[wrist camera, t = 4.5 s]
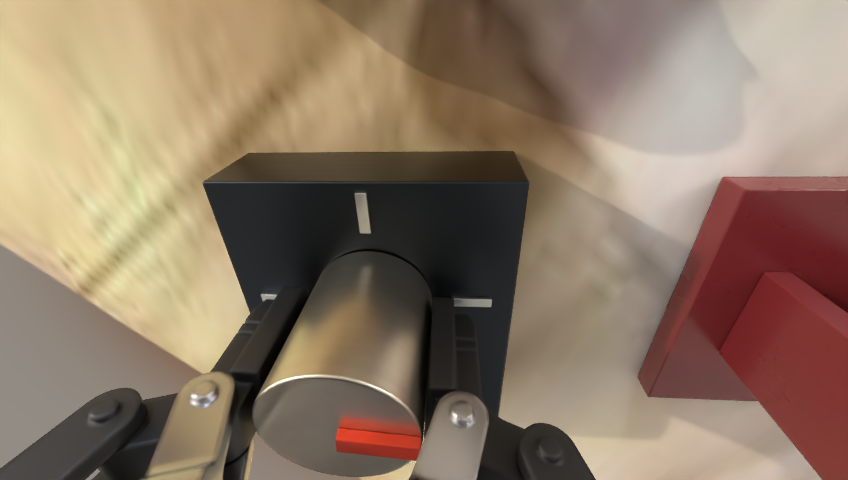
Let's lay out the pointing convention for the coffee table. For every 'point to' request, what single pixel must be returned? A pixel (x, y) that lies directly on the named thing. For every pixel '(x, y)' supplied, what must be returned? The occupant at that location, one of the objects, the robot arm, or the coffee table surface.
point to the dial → (352, 371)
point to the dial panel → (382, 227)
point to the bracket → (766, 312)
